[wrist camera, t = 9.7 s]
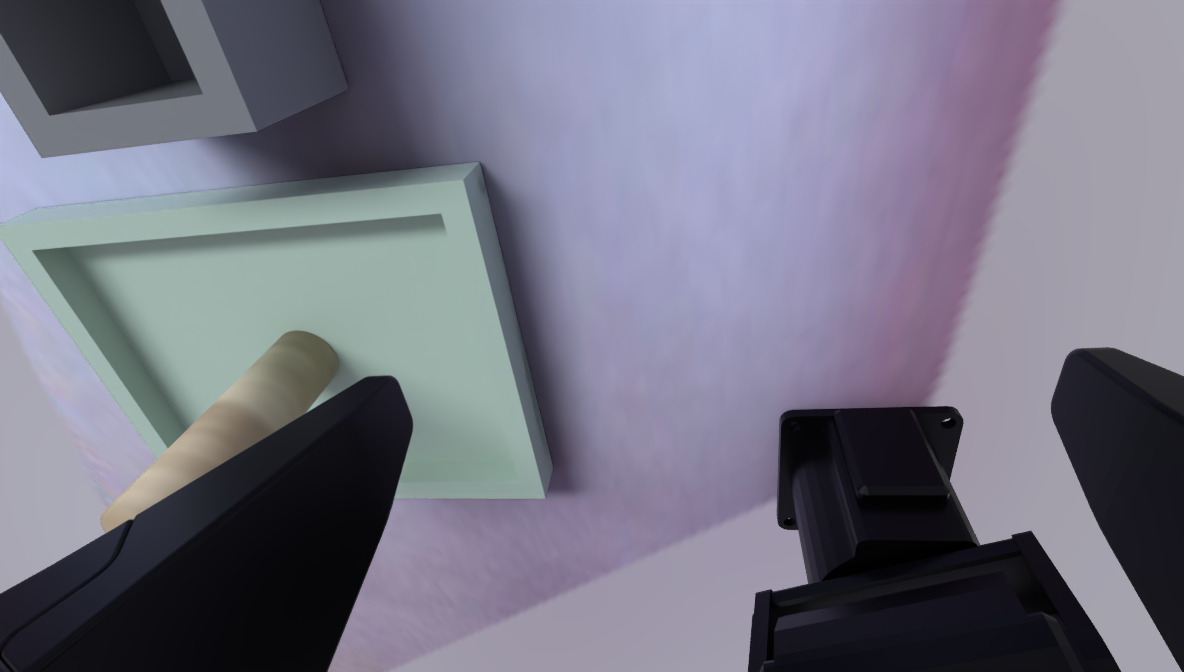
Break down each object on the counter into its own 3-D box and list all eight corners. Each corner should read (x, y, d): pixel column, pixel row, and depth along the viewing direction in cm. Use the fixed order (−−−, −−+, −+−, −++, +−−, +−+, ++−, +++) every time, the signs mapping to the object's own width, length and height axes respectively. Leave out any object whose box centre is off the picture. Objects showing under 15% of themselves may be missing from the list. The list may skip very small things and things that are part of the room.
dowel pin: (348, 381, 25) (206, 567, 18) (293, 383, 26) (132, 565, 19) (324, 328, 24) (160, 507, 17) (266, 332, 25) (82, 506, 17)
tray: (553, 468, 28) (545, 498, 26) (208, 470, 31) (183, 497, 29) (479, 161, 20) (462, 179, 19) (35, 208, 23) (-9, 227, 22)
